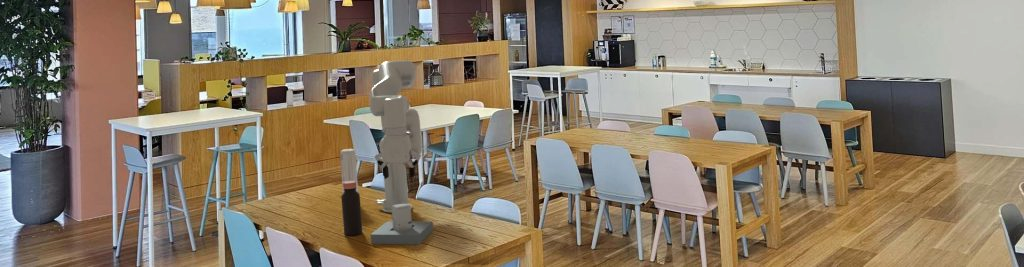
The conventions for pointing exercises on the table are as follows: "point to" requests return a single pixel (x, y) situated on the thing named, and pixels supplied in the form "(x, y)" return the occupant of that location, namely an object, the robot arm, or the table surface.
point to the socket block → (402, 233)
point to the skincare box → (401, 217)
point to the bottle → (351, 209)
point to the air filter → (348, 166)
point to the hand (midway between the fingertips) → (399, 177)
